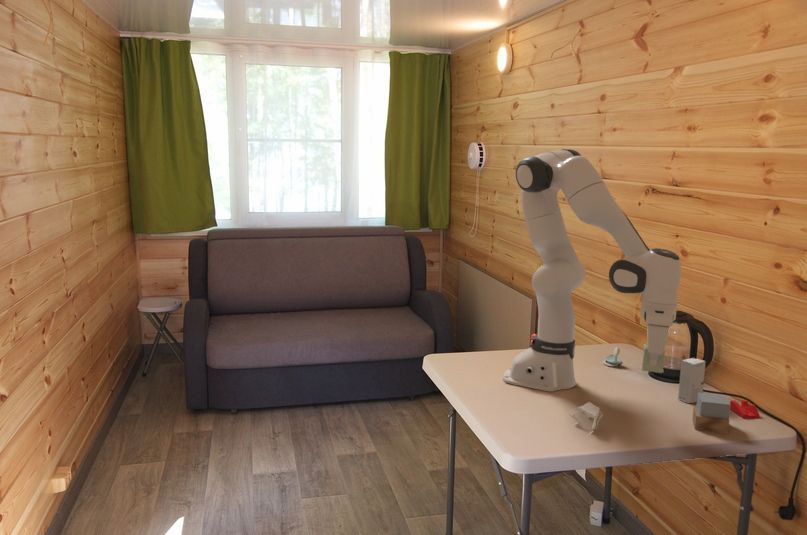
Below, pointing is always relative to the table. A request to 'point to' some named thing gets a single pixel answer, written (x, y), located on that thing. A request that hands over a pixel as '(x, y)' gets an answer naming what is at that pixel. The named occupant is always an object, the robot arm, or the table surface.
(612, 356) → the pacifier
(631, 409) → the table surface
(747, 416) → the red irregular chunk
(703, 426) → the tower base
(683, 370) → the skincare box
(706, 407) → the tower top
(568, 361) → the robot arm
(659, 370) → the sage block
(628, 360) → the table surface
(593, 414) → the origami figure
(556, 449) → the table surface
